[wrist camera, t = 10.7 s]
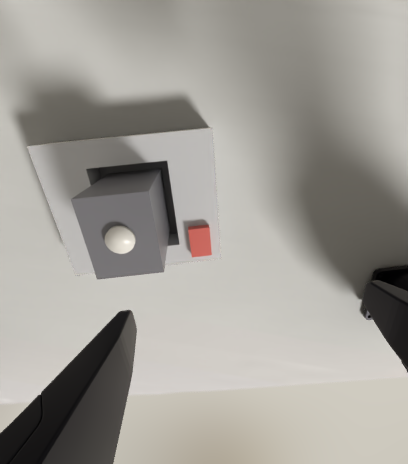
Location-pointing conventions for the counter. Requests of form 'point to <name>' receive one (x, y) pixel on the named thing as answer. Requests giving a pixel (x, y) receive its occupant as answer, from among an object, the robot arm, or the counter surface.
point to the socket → (132, 159)
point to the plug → (125, 223)
